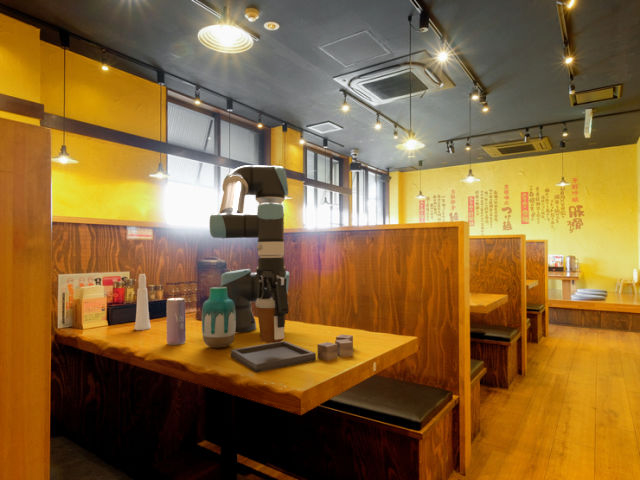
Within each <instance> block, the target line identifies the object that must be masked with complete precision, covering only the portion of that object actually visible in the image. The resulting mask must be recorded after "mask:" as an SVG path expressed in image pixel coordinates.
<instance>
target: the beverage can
mask: <svg viewBox="0 0 640 480" xmlns="http://www.w3.org/2000/svg"><path fill="white" fill-rule="evenodd" d="M186 328H187V327H186V299H185V298H184V297H171V298H167V299H166V344H167V345H168V346H179V345H183V344H185V342H186V341H187V339H186V332H187V331H186Z"/></svg>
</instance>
